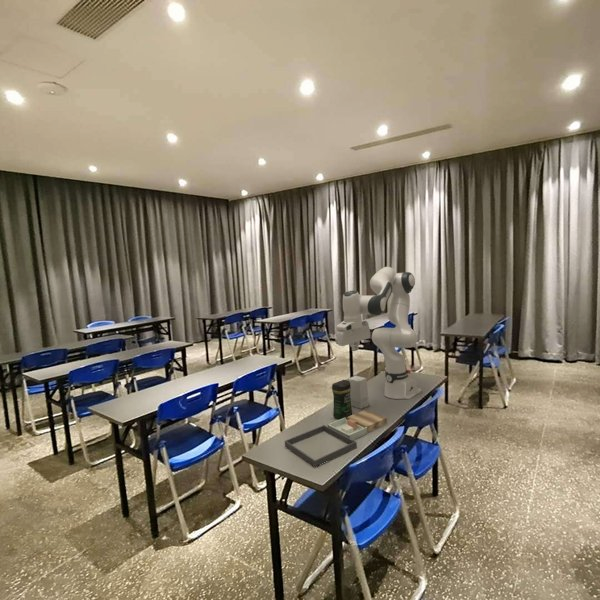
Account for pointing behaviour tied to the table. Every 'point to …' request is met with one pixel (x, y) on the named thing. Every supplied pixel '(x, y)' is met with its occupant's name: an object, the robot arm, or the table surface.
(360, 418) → the oak board
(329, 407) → the table surface
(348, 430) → the cream tile
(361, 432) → the tray
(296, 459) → the table surface
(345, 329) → the robot arm
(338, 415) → the coffee jar
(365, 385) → the skincare box
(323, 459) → the mat rim
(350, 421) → the terracotta tile
